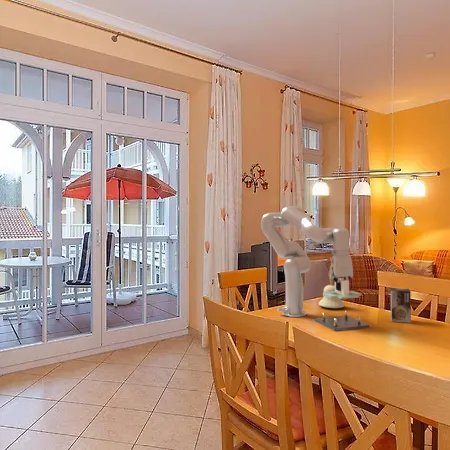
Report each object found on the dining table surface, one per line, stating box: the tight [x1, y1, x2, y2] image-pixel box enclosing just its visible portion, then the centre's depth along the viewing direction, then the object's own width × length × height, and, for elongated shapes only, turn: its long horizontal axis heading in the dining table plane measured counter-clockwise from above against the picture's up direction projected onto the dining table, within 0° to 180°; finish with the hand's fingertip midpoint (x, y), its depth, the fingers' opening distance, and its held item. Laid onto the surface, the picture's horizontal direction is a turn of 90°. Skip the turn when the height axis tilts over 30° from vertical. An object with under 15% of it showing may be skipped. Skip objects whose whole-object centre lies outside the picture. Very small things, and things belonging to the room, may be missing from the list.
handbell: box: [318, 265, 346, 309], centre depth 225 cm, size 15×15×25 cm
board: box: [322, 277, 362, 300], centre depth 190 cm, size 17×14×8 cm
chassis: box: [314, 310, 370, 332], centre depth 191 cm, size 19×19×5 cm
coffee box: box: [390, 287, 412, 324], centre depth 196 cm, size 9×6×16 cm
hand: (341, 289), depth 190 cm, fingers closed on board, 3 cm apart
